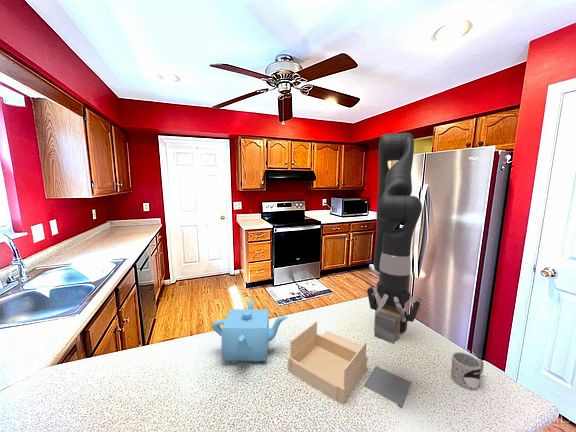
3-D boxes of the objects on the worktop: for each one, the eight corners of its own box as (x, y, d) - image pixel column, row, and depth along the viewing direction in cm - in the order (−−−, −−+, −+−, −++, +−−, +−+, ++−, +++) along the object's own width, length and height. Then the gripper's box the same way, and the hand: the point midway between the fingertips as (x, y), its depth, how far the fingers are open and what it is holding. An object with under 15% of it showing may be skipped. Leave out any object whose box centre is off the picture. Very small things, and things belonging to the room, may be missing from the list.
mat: (375, 367, 75) (375, 365, 75) (410, 383, 69) (410, 381, 69) (363, 387, 67) (363, 385, 67) (401, 407, 61) (401, 405, 61)
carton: (322, 340, 89) (323, 315, 88) (371, 362, 77) (372, 335, 76) (287, 372, 73) (287, 342, 72) (342, 406, 61) (344, 372, 60)
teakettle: (208, 353, 80) (207, 312, 79) (252, 330, 94) (252, 294, 92) (242, 385, 67) (242, 336, 66) (287, 353, 81) (288, 312, 79)
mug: (466, 392, 66) (469, 370, 66) (445, 374, 73) (447, 354, 72) (493, 385, 69) (495, 363, 68) (470, 368, 75) (472, 348, 75)
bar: (388, 318, 73) (389, 299, 72) (405, 324, 70) (407, 304, 69) (374, 336, 63) (375, 315, 63) (394, 344, 60) (395, 321, 60)
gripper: (427, 271, 63) (422, 332, 65) (373, 261, 72) (370, 314, 74) (421, 280, 57) (416, 346, 59) (363, 267, 66) (360, 325, 68)
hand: (390, 328), depth 66 cm, fingers closed on bar, 5 cm apart
